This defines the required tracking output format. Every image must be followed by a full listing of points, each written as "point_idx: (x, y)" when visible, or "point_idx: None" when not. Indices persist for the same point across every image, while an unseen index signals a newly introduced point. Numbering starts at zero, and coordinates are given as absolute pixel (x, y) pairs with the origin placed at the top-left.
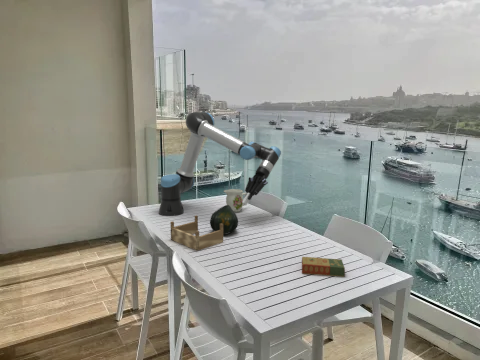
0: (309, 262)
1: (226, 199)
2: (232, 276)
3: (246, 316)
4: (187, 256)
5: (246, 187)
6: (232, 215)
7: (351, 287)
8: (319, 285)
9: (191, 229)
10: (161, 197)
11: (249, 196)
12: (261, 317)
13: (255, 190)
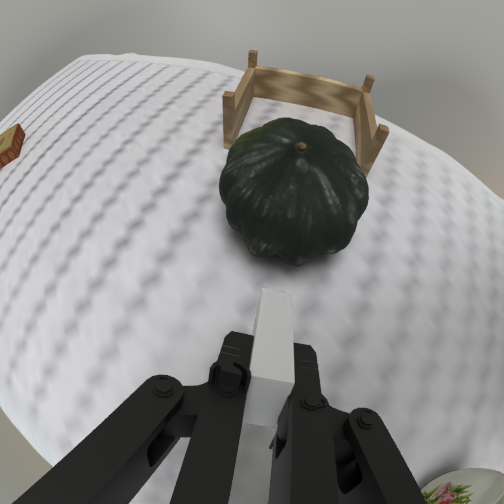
0: (7, 133)
1: (495, 470)
2: (128, 73)
3: (95, 55)
4: None
5: (397, 464)
6: (238, 152)
7: None
8: None
9: (362, 143)
10: None
11: (236, 353)
12: (82, 61)
13: (140, 407)
